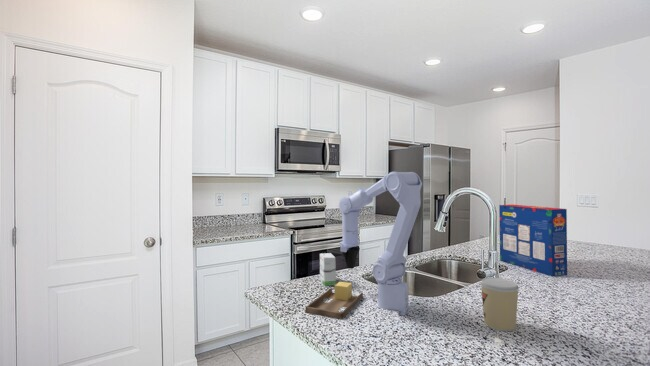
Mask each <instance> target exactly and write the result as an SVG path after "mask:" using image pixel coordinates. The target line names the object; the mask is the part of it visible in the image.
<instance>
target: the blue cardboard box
mask: <svg viewBox="0 0 650 366" xmlns="http://www.w3.org/2000/svg"><path fill="white" fill-rule="evenodd" d="M498 208H499V261H500V262H502V263H505V264H506V263H507V264H509V265H513V266H517V267H520V268H522V269H525V270H529V271H532V272H536V273H539V274H542V275H545V276H549V277H562V276H568V228H567V227H568V225H567V224H568V222H567V221H568V219H567V218H568V215H567V212H568V211H567V208H558V207H557V208H556V207H548V206H547V207H546V206H536V205H535V206H534V205H522V204H499V207H498Z"/></svg>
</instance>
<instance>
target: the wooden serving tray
mask: <svg viewBox="0 0 650 366" xmlns="http://www.w3.org/2000/svg"><path fill="white" fill-rule="evenodd" d="M362 298H364V292H361V293H360V294H359V295H353V294H352V297H350V298H349V299H348V300H347V301H346V300H340V299H335V292H333V288H331V287H330V288H329V289H328V290H326V291H325V292H324V293H323V294H321V295H319V296H318V297H317V298H316V299H314V300H313V301H312V302H310V303H309V304H308V305H306V306H305V309H304V310H305V313H307V314H313V315H318V316H325V317H328V318H336V319H338V320H339V319H340V320H343V319H344V317H346V316H347V315H348V313H350V311H352V309H353V308H354V307H355V306H356V305H357V304H358V303H359V302H360V301H361V300H362ZM325 299H331V300H330V301H329V302H324V301H323V300H325ZM342 308H345V309H343V311H340V309H342Z"/></svg>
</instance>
